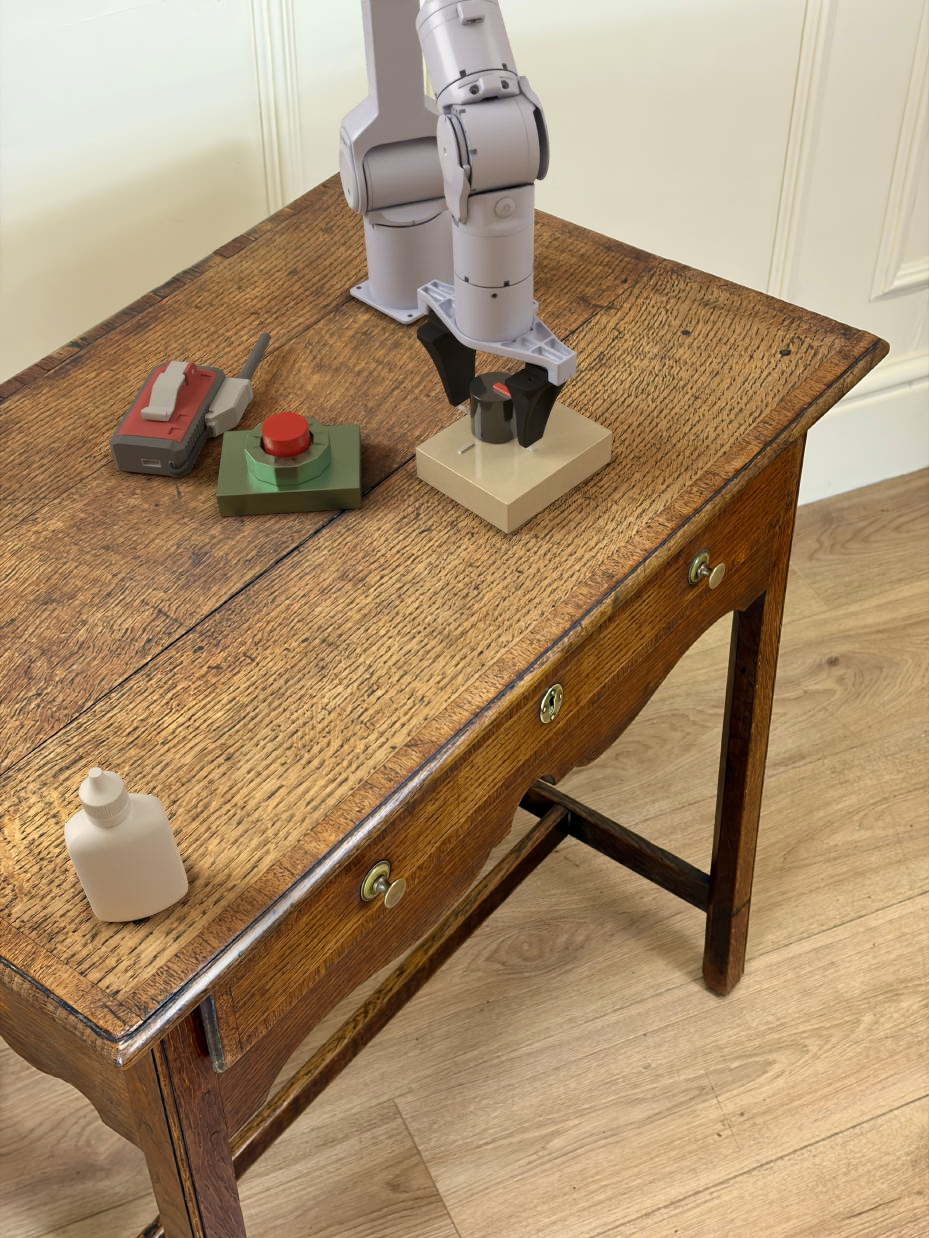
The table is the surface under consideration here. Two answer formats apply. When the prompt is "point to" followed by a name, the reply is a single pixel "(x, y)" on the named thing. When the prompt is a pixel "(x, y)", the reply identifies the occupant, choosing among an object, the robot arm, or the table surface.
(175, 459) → the walkie-talkie
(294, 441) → the button
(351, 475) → the housing
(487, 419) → the dial
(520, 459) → the panel
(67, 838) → the eye dropper bottle
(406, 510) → the table surface
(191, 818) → the table surface
